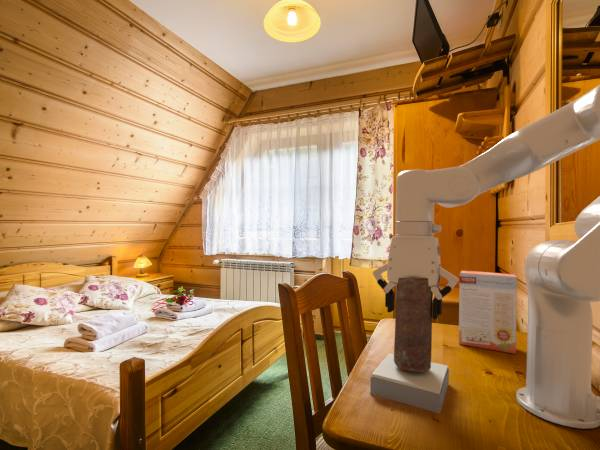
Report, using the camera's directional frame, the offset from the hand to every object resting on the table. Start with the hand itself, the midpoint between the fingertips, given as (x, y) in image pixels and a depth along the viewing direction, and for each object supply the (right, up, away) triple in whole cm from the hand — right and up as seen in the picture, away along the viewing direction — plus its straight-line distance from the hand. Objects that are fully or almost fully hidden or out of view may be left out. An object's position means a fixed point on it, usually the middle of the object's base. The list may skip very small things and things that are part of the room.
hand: (412, 314), depth 68 cm
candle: (0, -12, 0) cm, 12 cm away
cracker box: (+30, -16, +25) cm, 42 cm away
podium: (0, -16, 0) cm, 16 cm away
